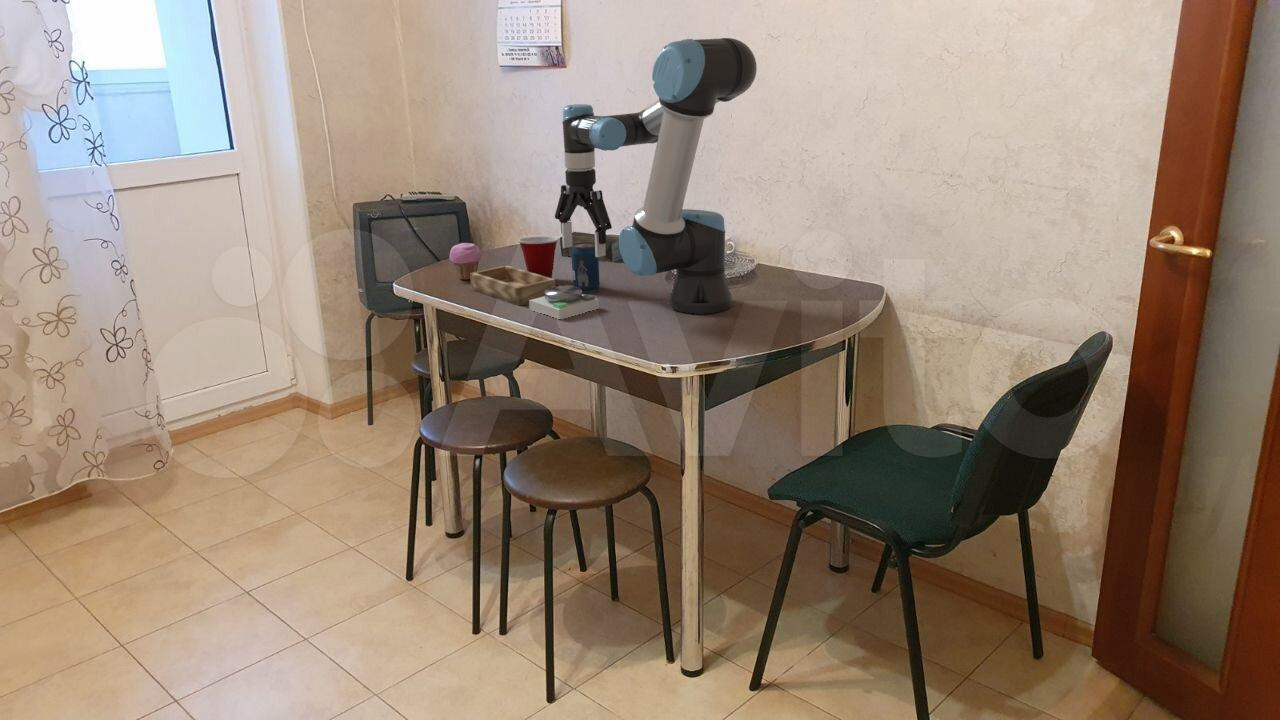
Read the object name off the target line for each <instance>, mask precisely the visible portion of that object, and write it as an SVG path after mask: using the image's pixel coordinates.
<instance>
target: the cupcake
mask: <svg viewBox="0 0 1280 720" xmlns="http://www.w3.org/2000/svg"><path fill="white" fill-rule="evenodd" d="M481 252H482V251H481V250H480V248H479V247H478V246H477V245H476V244H475V243H470V242H460V243H458V244H455V245H453V246H452V247H451V249H450V251H449V261H450V262H452V263H453V265H454V267H455V269H456V273H457V277H458V278H459V279H460V280H463V281H464V280H470V273H473V272H477V271H478V268H479V261H481V259H482V253H481Z"/></svg>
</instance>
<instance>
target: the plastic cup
mask: <svg viewBox="0 0 1280 720" xmlns="http://www.w3.org/2000/svg"><path fill="white" fill-rule="evenodd" d="M558 241H559V237H556V236H544V235H543V236H528V237H521V238H519V239H517V242H518V243H519V245H520V248H521V252H522V255H523V258H524V262H525V267H526V268H525V269H526V271H528V272H532V273H535V274H539V275H542V276H546V277H549V278H552V279H553V270H554V262H555V255H556V248H557V244H558Z"/></svg>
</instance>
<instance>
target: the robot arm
mask: <svg viewBox="0 0 1280 720" xmlns="http://www.w3.org/2000/svg"><path fill="white" fill-rule="evenodd" d="M757 68H758V67H757V61H756V57H755V54H754V53H753V51H752V49H751V48H750V47H749V46H748V45H747V44H746V43H745V42H742V41H741V40H739V39H736V38H732V37H731V38H730V37H721V38H703V39H701V38H700V39H693V38H687V39H682V40H677V41H676V40H675V41H672V42H669V43H667V44H666V45H665V46H663V47H662V48H661V50H660V51H659V52H658V54H657V55H656V57H655V60H654V62H653V66H652V72H651V73H652V74H651V78H652V79H651V80H652V81H653V82H654V83H653V85H652V86H653V89H654V91H655V94H656V96H657V97H658V100H656V101H655V102H653V103H652V104H650V105H648V106H647V107H645V108H643V110H641V111H639V112H633V113H624V114H613V115H602V116H601V115H595V113H594V108H593V106H592V105H590V104H584V103H582V104H580V103H579V104H569V105H568V104H567V105H565V106H564V107H563V109H562V131H563V132H562V133H563V147H564V168H566V170H565V184H563V185H562V184H561V186H560V195H559V198H558V204H557V206H556V210H555V214H554V219H556V220H558V221H559V222H560V232H561V237H562V244H563V248H567V247H572V246H573V245H572V233H573V229H572V228H573V227H572V225H573V223H572V219H571V218H572V216H573V214H574V212H575V211H576V208H577V207H578V206H579V207H580V208H581V207H582V208H583V209H584V210H585V211H587V213H588V215H589V218H590V220H591V221H592V223H593V225H594V228H595V231H594V234H595V257H601V256H605V255H606V252H605V243H606V236H607V231H609V230H611V229H612V227H613V226H612V223H611V220H610V217H609V213H608V209H607V207H606V205H605V202H604V197H603V191H602V190H601V189H599V190H594V185H596V184H597V183H596V182H597V179H596V178H597V177H596V170H595V167H596V161H595V160H596V158H595V155H596V154H595V151H596V149H597V150H602V151H616V150H618V149H620V148H621V147H622V148H623V147H629V146H638V145H646V144H655V143H656V146H655V151H654V157H653V160H652V165H651V171H650V174H649V180H648V184H647V189H646V193H645V198H644V203H643V207H641V208H638V209H637V210H636V211H635V213H634V216H633V221H632V225H628V226H626V227H624V228H623V229H622V230H621V231H620V234H619V236H618V237H619V249H620V253H621V256H622V259H621V260H622V261H623V264H625V266H626V267H627V269H628V270H629V272H631V273H632V274H633V275H635V276H638V277H646V276H654V275H657V274H662V273H666V272H671V271H676V273H675V279H674V281H673V286H672V291H671V293H670V295H669V307H670V309H672V310H674V311H676V312H679V313H684V312H685V314H692V313H694V314H693V315H697V314H698V315H699V314H701V315H703V314H704V315H705V314H715V313H719V312H724V311H726V310H728V309H730V308H731V307H732V306H733V297H732V293H731V292H730V289H729V285H728V284H729V283H728V281H727V278H726V277H727V276H726V274H725V270H726V269H725V268H726V267H725V265H726V263H725V261H726V259H725V257H726V256H725V255H726V253H725V252H726V251H725V250H726V249H725V248H726V246H725V245H726V244H725V243H726V228H725V218H724V216H723V215H722V214H720V213H719V212H715V211H710V210H704V209H703V210H702V209H691V208H690V209H688V208H687V209H683V208H684V203H685V198H686V194H687V190H688V186H689V182H690V178H691V175H692V170H693V165H694V163H695V162H694V161H695V158H696V153H697V149H698V145H699V141H700V137H701V134H702V133H701V132H702V129H703V124H704V120H705V119H706V118H709V117H710V116H712V115H713V113H714V110H715V106H716V104H718V103H719V102H723V103H726V102H731V101H732V100H734V99H735V98H737V97H739V96H741V95H742V94H744V93H745V92H747V91H748V90H749V89H750V87H751V86H752V85H753V83H754V81H755V79H756V75H757Z"/></svg>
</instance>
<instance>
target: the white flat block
mask: <svg viewBox="0 0 1280 720" xmlns="http://www.w3.org/2000/svg"><path fill="white" fill-rule="evenodd" d="M528 304H529V305H528V306H529V311H532V312H534V311H535V312H534V313H537V312H538V314H540V313H542V314H541V315H543V314H546V315H549V316H551V317H550V318H552V317H554V318H553V319H555V318H557V319H556V320H558V319H562V320H564V319H563V318H566V319H568V317H569V318H572V317H571V316H573V317H575V315H576V316H579V314H580V315H583V314H586V313H585V312H587V313H589V312H588V311H591V312H593V311H592V310H594V311H597V310H596V309H598V310H599V309H600V302H599V299H598V298H596V297H595V295H592V294H590V293H588V294H582V297H581V298H579V299H577V300H573V301H567V302H554V301H549V300H546V299H545V296H544V297H540V298H536V299H532V300H529V303H528ZM582 313H583V314H582ZM546 315H545V316H546ZM549 316H548V317H549Z"/></svg>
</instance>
